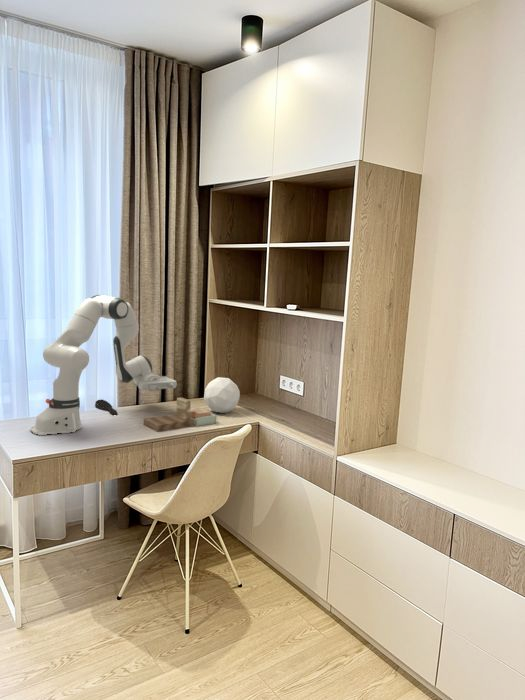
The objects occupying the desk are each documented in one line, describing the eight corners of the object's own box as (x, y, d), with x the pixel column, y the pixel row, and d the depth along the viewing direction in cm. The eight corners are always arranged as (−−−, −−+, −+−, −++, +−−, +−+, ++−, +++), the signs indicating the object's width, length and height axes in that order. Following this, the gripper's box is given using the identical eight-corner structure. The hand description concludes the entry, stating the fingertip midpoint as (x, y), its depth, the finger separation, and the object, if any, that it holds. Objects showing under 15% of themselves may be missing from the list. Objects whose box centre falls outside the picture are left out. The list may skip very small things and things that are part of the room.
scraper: (184, 419, 264) (185, 401, 262) (176, 415, 270) (176, 398, 268) (190, 418, 266) (190, 400, 264) (181, 414, 272) (182, 397, 270)
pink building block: (197, 413, 267) (210, 412, 270) (194, 411, 270) (207, 410, 274) (197, 423, 267) (210, 421, 271) (194, 421, 271) (206, 419, 274)
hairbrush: (107, 411, 273) (92, 398, 293) (107, 418, 274) (92, 405, 294) (123, 410, 278) (107, 397, 298) (123, 417, 278) (107, 403, 299)
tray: (195, 426, 263) (196, 418, 263) (178, 418, 276) (178, 410, 276) (216, 423, 271) (216, 415, 270) (197, 415, 284) (198, 407, 283)
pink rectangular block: (188, 411, 269) (201, 410, 273) (185, 410, 272) (197, 408, 276) (188, 421, 270) (200, 419, 274) (184, 419, 273) (197, 418, 277)
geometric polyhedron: (213, 425, 290) (191, 397, 284) (224, 405, 307) (204, 378, 301) (241, 413, 281) (219, 384, 276) (250, 393, 298) (230, 365, 293)
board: (157, 431, 251) (157, 425, 251) (143, 424, 262) (143, 418, 262) (193, 425, 264) (193, 419, 264) (179, 419, 275) (179, 413, 274)
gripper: (134, 377, 277) (146, 382, 267) (169, 375, 290) (182, 380, 280) (133, 389, 278) (146, 394, 267) (168, 387, 291) (181, 392, 280)
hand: (164, 387), depth 274 cm, fingers open, 8 cm apart
